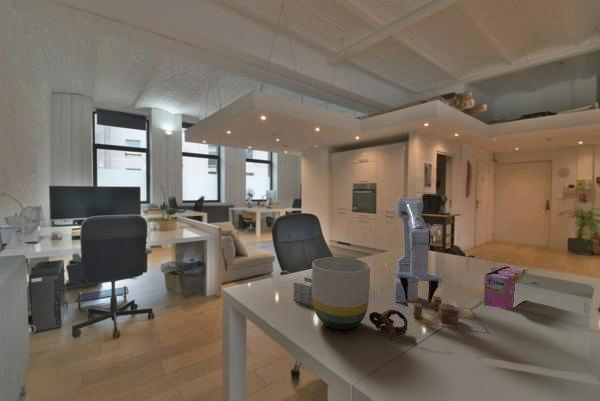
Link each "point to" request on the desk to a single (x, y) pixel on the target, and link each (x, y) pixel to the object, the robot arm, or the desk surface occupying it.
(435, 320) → the brown angular piece
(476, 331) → the tray board
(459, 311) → the back strip
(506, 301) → the gum box
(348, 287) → the planter
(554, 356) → the desk surface
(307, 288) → the puzzle cube
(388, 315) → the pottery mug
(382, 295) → the desk surface
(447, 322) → the walnut block
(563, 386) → the desk surface
